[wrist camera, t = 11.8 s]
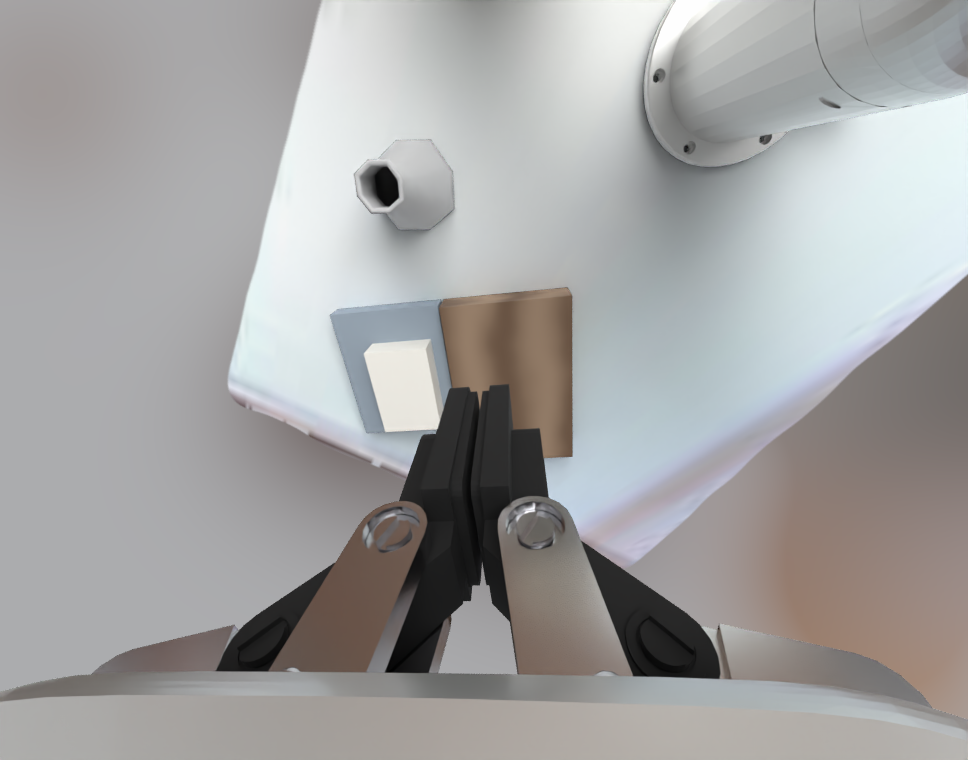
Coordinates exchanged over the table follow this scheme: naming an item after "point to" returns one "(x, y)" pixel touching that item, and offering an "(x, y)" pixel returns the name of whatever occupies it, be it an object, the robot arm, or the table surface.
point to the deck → (517, 356)
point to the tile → (405, 384)
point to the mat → (385, 326)
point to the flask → (407, 185)
